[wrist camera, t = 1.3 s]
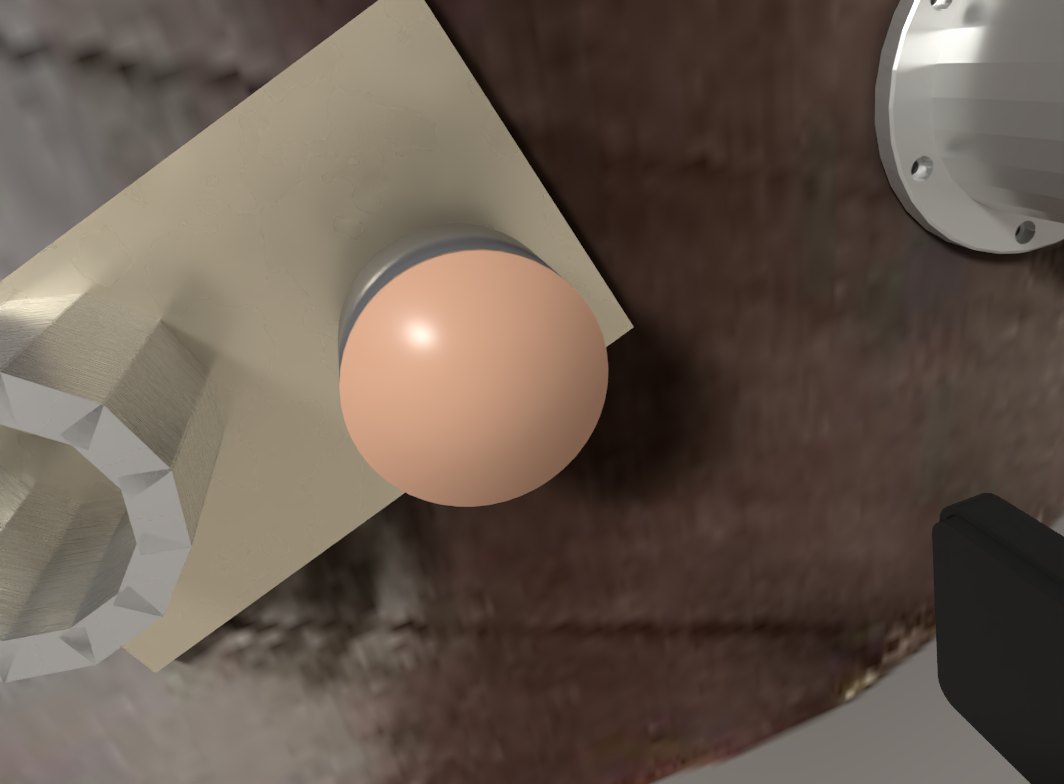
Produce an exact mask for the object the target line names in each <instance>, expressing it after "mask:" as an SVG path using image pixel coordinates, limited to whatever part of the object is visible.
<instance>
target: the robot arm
mask: <svg viewBox="0 0 1064 784" xmlns="http://www.w3.org/2000/svg"><path fill="white" fill-rule="evenodd" d="M875 128H876V135H877V141H878V147H879V153H880V158H881V161H882V164H883V166H884V169H885V172H886V175H887V177H888V180H889V183H890V185H891V187H892V189H893V191H894V192H895V194H896V195H897V197H898V198H899V200H900V202H901V203H902V205H903V206H904V208H905V210H906V211H907V212H908V213H909V214H910V215H911V216H912V217H913V218H914V219H915V220H916V221H917V222H918V223H919V224H921V225H922V226H923V227H924V228H925V229H926V230H928V231H930V232H931V233H933V234H935V235H936V236H938V237H940V238H942V239H943V240H945V241H947V242H950V243H953V244H957V245H960V246H963V247H966V248H969V249H972V250H977V251H983V252H990V253H996V254H1011V253H1024V252H1029V251H1032V250H1035V249H1039V248H1042V247H1046V246H1049V245H1053V244H1055V243H1057V242H1059V241H1061V240H1063V239H1064V0H900V2H899V4H898V6H897V8H896V10H895V12H894V15H893V18H892V21H891V24H890V27H889V30H888V33H887V36H886V39H885V42H884V45H883V48H882V51H881V57H880V63H879V69H878V75H877V81H876V87H875ZM932 541H933V566H934V590H935V615H936V639H937V663H938V679H939V683H940V686H941V689H942V691H943V693H944V695H945V697H946V698H947V700H948V701H949V702H950V704H951V705H952V706H953V707H954V708H955V709H956V710H957V711H958V712H959V713H960V714H961V715H962V716H963V717H964V718H965V719H966V720H967V721H968V722H969V723H970V724H971V725H972V726H973V727H974V728H975V729H976V730H977V731H978V732H979V733H980V734H981V735H982V736H983V737H984V738H985V739H986V740H987V741H988V742H989V743H990V744H991V745H992V746H993V747H994V748H995V749H996V750H997V751H998V752H999V753H1000V754H1002V756H1003V757H1004V758H1005V759H1006V760H1007V761H1008V762H1009V763H1010V764H1012V766H1014V767H1015V769H1016V770H1017V771H1019V772H1020V773H1021V774H1022V775H1023V776H1024V777H1025V778H1026V779H1027V780H1028V781H1029V782H1030V783H1031V784H1064V537H1063V536H1062V535H1060V534H1058V533H1057V532H1055V531H1053V530H1052V529H1050V528H1049V527H1047V526H1046V525H1044V524H1042V523H1041V522H1039V521H1037V520H1036V519H1034V518H1033V517H1031V516H1029V515H1028V514H1026V513H1024V512H1023V511H1021V510H1020V509H1018V508H1016V507H1015V506H1013V505H1011V504H1010V503H1008V502H1007V501H1005V500H1003V499H1002V498H1000V497H998V496H996V495H994V494H991V493H982V494H980V495H977V496H974V497H972V498H969V499H966V500H964V501H961V502H958V503H955V504H953V505H950V506H948V507H946V508H944V509H943V510H942V512H941V513H940V520H939V522H938V523H936V524H935V525H934V527H933V530H932Z"/></svg>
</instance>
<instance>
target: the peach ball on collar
mask: <svg viewBox="0 0 1064 784" xmlns="http://www.w3.org/2000/svg"><path fill="white" fill-rule="evenodd" d="M338 361H339V390H340V400H341V408H342V412H343V416H344V421H345V424H346V426H347V429H348V431H349V434H350V436H351V439H352V440H353V442H354V444H355V446H356V447H357V449H358V451H359V452H360V454H361V455H362V456H363V458H364V459H365V460H366V461H367V463H368V464H369V465H370V466H371V467H372V468H373V469H374V470H375V471H376V472H377V473H378V474H379V475H380V476H381V477H382V478H384V479H385V480H386V481H388V482H389V483H391V484H392V485H393V486H395V487H396V488H398V489H400V490H402V491H404V492H406V493H407V494H409V495H412V496H414V497H417V498H420V499H422V500H425V501H429V502H433V503H437V504H441V505H449V506H457V507H474V506H483V505H491V504H495V503H500V502H504V501H508V500H510V499H513V498H516V497H519V496H522V495H524V494H526V493H528V492H530V491H532V490H534V489H536V488H538V487H539V486H541V485H543V484H544V483H546V482H547V481H549V480H550V479H552V478H553V477H554V476H556V475H557V474H558V473H559V472H560V471H562V470H563V469H564V468H565V467H566V466H567V465H568V464H569V463H570V462H571V461H572V460H573V459H574V458H575V457H576V456H577V454H578V453H579V452H580V450H581V449H582V448H583V446H584V445H585V444H586V442H587V441H588V439H589V437H590V436H591V434H592V432H593V431H594V428H595V426H596V424H597V422H598V419H599V417H600V415H601V412H602V408H603V405H604V402H605V397H606V391H607V385H608V359H607V350H606V346H605V342H604V338H603V334H602V332H601V329H600V327H599V324H598V322H597V320H596V318H595V316H594V314H593V313H592V311H591V309H590V307H589V306H588V304H587V303H586V302H585V301H584V299H583V298H582V297H581V295H580V294H579V293H578V292H577V291H576V290H575V289H574V288H573V287H572V286H571V285H570V284H569V283H568V282H567V281H566V280H565V279H563V278H562V277H561V276H560V275H559V274H558V273H557V272H555V271H554V270H553V269H552V268H551V267H550V266H548V265H547V264H546V263H545V262H544V261H543V260H542V259H540V258H539V257H538V256H537V255H536V254H535V253H533V252H532V251H531V250H530V249H529V248H527V247H526V246H525V245H523V244H522V243H520V242H519V241H518V240H516V239H514V238H512V237H510V236H508V235H507V234H505V233H502V232H499V231H497V230H494V229H492V228H488V227H483V226H479V225H474V224H463V223H452V224H440V225H434V226H429V227H425V228H422V229H419V230H416V231H413V232H411V233H408V234H406V235H404V236H402V237H400V238H398V239H396V240H395V241H393V242H392V243H390V244H389V245H387V246H385V247H384V248H383V249H382V250H381V251H379V252H378V253H377V254H376V255H375V256H373V257H372V258H371V260H370V261H369V262H368V263H367V264H366V265H365V266H364V267H363V268H362V270H361V271H360V273H359V274H358V276H357V277H356V278H355V280H354V281H353V283H352V285H351V287H350V289H349V291H348V293H347V295H346V298H345V301H344V304H343V307H342V310H341V315H340V320H339V325H338Z"/></svg>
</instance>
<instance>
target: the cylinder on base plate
mask: <svg viewBox="0 0 1064 784" xmlns="http://www.w3.org/2000/svg"><path fill="white" fill-rule="evenodd" d="M452 223H463V224H474V225H479V226H483V227H488V228H492V229H494V230H497V231H499V232H502V233H505V234H507V235H508V236H510V237H512V238H514V239H516V240H518V241H519V242H520V243H522V244H523V245H525V246H526V247H527V248H529V249H530V250H531V251H532V252H533V253H535V254H536V255H537V256H538V257H539V258H540V259H542V260H543V261H544V262H545V263H546V264H547V265H548V266H550V267H551V268H552V269H553V270H554V271H555V272H557V273H558V274H559V275H560V276H561V277H562V278H563V279H565V280H566V281H567V282H568V283H569V284H570V285H571V286H572V287H573V288H574V289H575V290H576V291H577V292H578V293H579V294H580V295H581V297H582V298H583V299H584V301H585V302H586V303H587V304H588V306H589V307H590V309H591V311H592V313H593V314H594V316H595V318H596V320H597V322H598V324H599V327H600V329H601V332H602V334H603V338H604V342H605V346H606V347H607V346H608V345H610V344H611V343H613V342H614V341H615V340H617V339H618V338H620V337H621V336H622V335H624V334H625V333H626V332H628V331H629V330H631V329H632V328H633V325H632V324H631V322H630V320H629V319H628V317H627V316H626V314H625V313H624V311H623V310H622V308H621V306H620V305H619V303H618V302H617V300H616V299H615V297H614V295H613V294H612V292H611V291H610V289H609V288H608V286H607V285H606V283H605V281H604V280H603V278H602V277H601V275H600V274H599V272H598V270H597V269H596V267H595V266H594V264H593V263H592V261H591V260H590V258H589V256H588V255H587V253H586V252H585V250H584V249H583V247H582V246H581V244H580V242H579V241H578V239H577V238H576V236H575V235H574V233H573V231H572V230H571V228H570V227H569V225H568V224H567V222H566V221H565V219H564V217H563V216H562V214H561V213H560V211H559V210H558V208H557V207H556V205H555V203H554V202H553V200H552V199H551V197H550V196H549V194H548V192H547V191H546V189H545V188H544V186H543V185H542V183H541V182H540V180H539V178H538V177H537V175H536V174H535V172H534V171H533V169H532V167H531V166H530V164H529V163H528V161H527V160H526V158H525V157H524V155H523V153H522V152H521V150H520V149H519V147H518V146H517V144H516V143H515V141H514V139H513V138H512V136H511V135H510V133H509V132H508V130H507V128H506V127H505V125H504V124H503V122H502V121H501V119H500V118H499V116H498V114H497V113H496V111H495V110H494V108H493V107H492V105H491V104H490V102H489V100H488V99H487V97H486V96H485V94H484V93H483V91H482V89H481V88H480V86H479V85H478V83H477V82H476V80H475V79H474V77H473V75H472V74H471V72H470V71H469V69H468V68H467V66H466V64H465V63H464V61H463V60H462V58H461V57H460V55H459V54H458V52H457V50H456V49H455V47H454V46H453V44H452V43H451V41H450V40H449V38H448V36H447V35H446V33H445V32H444V30H443V29H442V27H441V25H440V24H439V22H438V21H437V19H436V18H435V16H434V15H433V13H432V11H431V10H430V8H429V7H428V5H427V4H426V2H425V1H424V0H378V1H377V2H376V3H374V4H373V5H372V6H370V7H369V8H368V9H366V10H365V11H364V12H362V13H361V14H360V15H358V16H357V17H356V18H354V19H353V20H352V21H350V22H349V23H347V24H346V25H345V26H343V27H342V28H341V29H339V30H338V31H337V32H335V33H334V34H333V35H331V36H330V37H329V38H327V39H326V40H325V41H323V42H322V43H321V44H319V45H318V46H317V47H315V48H314V49H313V50H311V51H310V52H309V53H307V54H306V55H304V56H303V57H302V58H300V59H299V60H298V61H296V62H295V63H294V64H292V65H291V66H290V67H288V68H287V69H286V70H284V71H283V72H282V73H280V74H279V75H278V76H276V77H275V78H274V79H272V80H271V81H270V82H268V83H267V84H265V85H264V86H263V87H261V88H260V89H259V90H257V91H256V92H255V93H253V94H252V95H251V96H249V97H248V98H247V99H245V100H244V101H243V102H241V103H240V104H239V105H237V106H236V107H235V108H233V109H232V110H231V111H229V112H228V113H226V114H225V115H224V116H222V117H221V118H220V119H218V120H217V121H216V122H214V123H213V124H212V125H210V126H209V127H208V128H206V129H205V130H204V131H202V132H201V133H200V134H198V135H197V136H196V137H194V138H193V139H192V140H190V141H189V142H188V143H186V144H185V145H183V146H182V147H181V148H179V149H178V150H177V151H175V152H174V153H173V154H171V155H170V156H169V157H167V158H166V159H165V160H163V161H162V162H161V163H159V164H158V165H157V166H155V167H154V168H153V169H151V170H150V171H149V172H147V173H146V174H144V175H143V176H142V177H140V178H139V179H138V180H136V181H135V182H134V183H132V184H131V185H130V186H128V187H127V188H126V189H124V190H123V191H122V192H120V193H119V194H118V195H116V196H115V197H114V198H112V199H111V200H110V201H108V202H107V203H106V204H104V205H103V206H101V207H100V208H99V209H97V210H96V211H95V212H93V213H92V214H91V215H89V216H88V217H87V218H85V219H84V220H83V221H81V222H80V223H79V224H77V225H76V226H75V227H73V228H72V229H71V230H69V231H68V232H67V233H65V234H64V235H62V236H61V237H60V238H58V239H57V240H56V241H54V242H53V243H52V244H50V245H49V246H48V247H46V248H45V249H44V250H42V251H41V252H40V253H38V254H37V255H36V256H34V257H33V258H32V259H30V260H29V261H28V262H26V263H25V264H23V265H22V266H21V267H19V268H18V269H17V270H15V271H14V272H13V273H11V274H10V275H9V276H7V277H6V278H5V279H3V280H2V281H1V282H0V682H3V683H5V682H9V681H15V680H20V679H25V678H30V677H35V676H41V675H46V674H51V673H56V672H61V671H67V670H72V669H77V668H82V667H87V666H93V665H97V664H98V663H99V662H101V661H102V660H103V659H105V658H106V657H108V656H109V655H110V654H112V653H113V652H114V651H116V650H117V649H119V648H120V647H121V646H122V647H123V648H124V649H125V650H127V651H128V652H129V653H131V654H132V655H133V656H134V657H136V658H137V659H138V660H139V661H141V662H142V663H143V664H144V665H146V666H147V667H148V668H149V669H151V670H152V671H153V672H154V673H156V672H158V671H159V670H161V669H162V668H163V667H165V666H166V665H167V664H169V663H170V662H172V661H173V660H174V659H176V658H177V657H178V656H180V655H181V654H183V653H184V652H185V651H187V650H188V649H190V648H191V647H192V646H194V645H195V644H196V643H198V642H199V641H201V640H202V639H203V638H205V637H206V636H208V635H209V634H210V633H212V632H213V631H214V630H216V629H217V628H219V627H220V626H221V625H223V624H224V623H225V622H227V621H228V620H230V619H231V618H232V617H234V616H235V615H237V614H238V613H239V612H241V611H242V610H243V609H245V608H246V607H248V606H249V605H250V604H252V603H253V602H255V601H256V600H257V599H259V598H260V597H261V596H263V595H264V594H266V593H267V592H268V591H270V590H271V589H273V588H274V587H275V586H277V585H278V584H279V583H281V582H282V581H284V580H285V579H286V578H288V577H289V576H290V575H292V574H293V573H295V572H296V571H297V570H299V569H300V568H302V567H303V566H304V565H306V564H307V563H308V562H310V561H311V560H313V559H314V558H315V557H317V556H318V555H320V554H321V553H322V552H324V551H325V550H326V549H328V548H329V547H331V546H332V545H333V544H335V543H336V542H337V541H339V540H340V539H342V538H343V537H344V536H346V535H347V534H349V533H350V532H351V531H353V530H354V529H355V528H357V527H358V526H360V525H361V524H362V523H364V522H365V521H367V520H368V519H369V518H371V517H372V516H373V515H375V514H376V513H378V512H379V511H380V510H382V509H383V508H384V507H386V506H387V505H389V504H390V503H391V502H393V501H394V500H396V499H397V498H398V497H400V496H401V495H402V494H404V493H405V492H404V491H402V490H400V489H398V488H396V487H395V486H393V485H392V484H391V483H389V482H388V481H386V480H385V479H384V478H382V477H381V476H380V475H379V474H378V473H377V472H376V471H375V470H374V469H373V468H372V467H371V466H370V465H369V464H368V463H367V461H366V460H365V459H364V458H363V456H362V455H361V454H360V452H359V451H358V449H357V447H356V446H355V444H354V442H353V440H352V439H351V436H350V434H349V431H348V429H347V426H346V424H345V421H344V416H343V412H342V408H341V400H340V390H339V361H338V325H339V320H340V315H341V310H342V307H343V304H344V301H345V298H346V295H347V293H348V291H349V289H350V287H351V285H352V283H353V281H354V280H355V278H356V277H357V276H358V274H359V273H360V271H361V270H362V268H363V267H364V266H365V265H366V264H367V263H368V262H369V261H370V260H371V258H372V257H373V256H375V255H376V254H377V253H378V252H379V251H381V250H382V249H383V248H384V247H385V246H387V245H389V244H390V243H392V242H393V241H395V240H396V239H398V238H400V237H402V236H404V235H406V234H408V233H411V232H413V231H416V230H419V229H422V228H425V227H429V226H434V225H440V224H452Z"/></svg>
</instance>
